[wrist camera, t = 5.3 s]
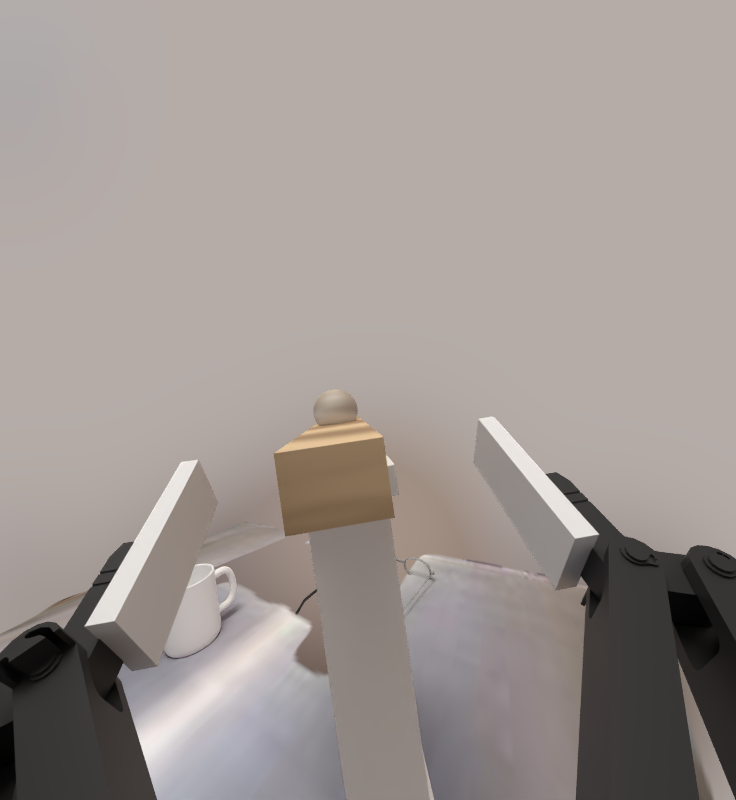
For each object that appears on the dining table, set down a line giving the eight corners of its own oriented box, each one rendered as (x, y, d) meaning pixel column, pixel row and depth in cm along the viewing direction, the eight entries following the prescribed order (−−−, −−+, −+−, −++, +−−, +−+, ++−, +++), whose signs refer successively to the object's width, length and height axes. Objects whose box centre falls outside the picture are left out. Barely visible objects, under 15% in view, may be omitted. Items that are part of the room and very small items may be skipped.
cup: (156, 646, 51) (148, 583, 51) (228, 602, 60) (221, 550, 60) (175, 668, 45) (166, 599, 45) (251, 617, 55) (243, 559, 55)
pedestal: (348, 715, 35) (311, 449, 35) (410, 702, 35) (373, 439, 36) (352, 948, 20) (287, 481, 20) (458, 919, 20) (394, 464, 21)
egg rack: (325, 446, 35) (317, 396, 35) (360, 441, 35) (353, 391, 35) (285, 536, 11) (263, 376, 11) (394, 517, 12) (372, 362, 12)
